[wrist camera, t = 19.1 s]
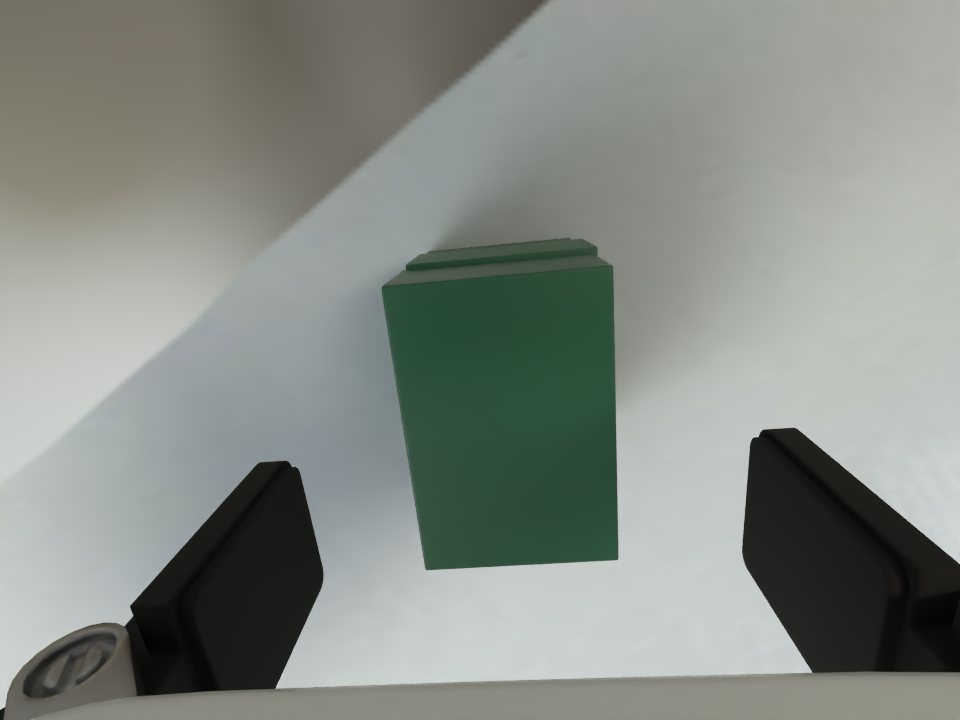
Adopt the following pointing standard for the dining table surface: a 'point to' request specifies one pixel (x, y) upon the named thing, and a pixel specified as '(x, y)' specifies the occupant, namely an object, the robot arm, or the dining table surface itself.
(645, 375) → the dining table surface
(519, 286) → the green rectangular block
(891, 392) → the dining table surface
